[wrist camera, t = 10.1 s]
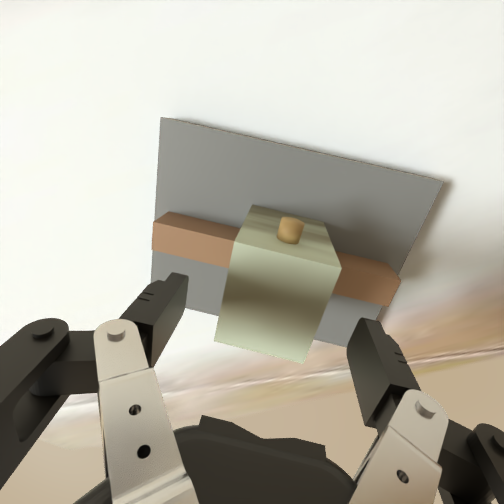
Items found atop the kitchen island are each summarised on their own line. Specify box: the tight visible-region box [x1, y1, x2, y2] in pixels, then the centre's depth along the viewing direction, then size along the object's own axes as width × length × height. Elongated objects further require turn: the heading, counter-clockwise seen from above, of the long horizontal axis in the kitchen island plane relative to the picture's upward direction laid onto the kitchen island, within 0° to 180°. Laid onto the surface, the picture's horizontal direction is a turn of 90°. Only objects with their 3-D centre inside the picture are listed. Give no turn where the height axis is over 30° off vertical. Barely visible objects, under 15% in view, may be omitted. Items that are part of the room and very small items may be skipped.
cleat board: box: [151, 117, 443, 347], centre depth 20 cm, size 14×18×4 cm
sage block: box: [214, 205, 342, 364], centre depth 17 cm, size 7×5×7 cm
